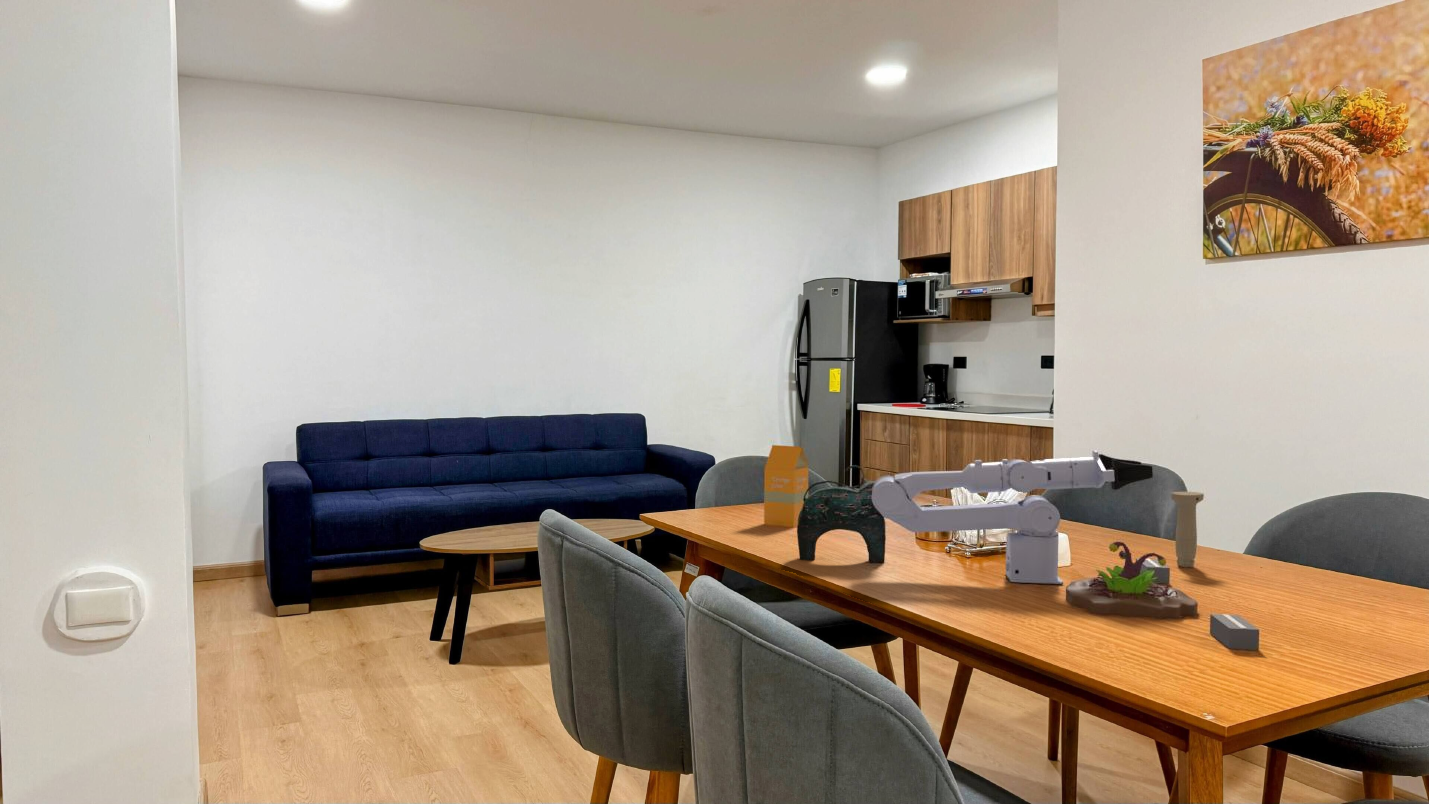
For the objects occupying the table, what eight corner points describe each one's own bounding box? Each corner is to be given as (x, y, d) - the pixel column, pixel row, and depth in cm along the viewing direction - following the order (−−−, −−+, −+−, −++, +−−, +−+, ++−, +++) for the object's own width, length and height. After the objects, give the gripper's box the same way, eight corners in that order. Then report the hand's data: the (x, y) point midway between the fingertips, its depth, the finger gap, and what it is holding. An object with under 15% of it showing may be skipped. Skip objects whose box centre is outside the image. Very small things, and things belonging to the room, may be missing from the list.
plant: (1050, 591, 175) (1051, 530, 174) (1158, 592, 174) (1160, 531, 174) (1089, 620, 155) (1090, 552, 154) (1211, 622, 154) (1213, 553, 154)
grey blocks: (1229, 648, 139) (1229, 627, 138) (1135, 573, 188) (1135, 557, 188) (1258, 650, 138) (1259, 629, 138) (1156, 574, 187) (1157, 558, 187)
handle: (1206, 567, 194) (1208, 494, 193) (1184, 570, 191) (1185, 495, 191) (1186, 562, 198) (1188, 491, 198) (1164, 565, 196) (1165, 492, 195)
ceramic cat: (892, 559, 201) (893, 464, 200) (892, 565, 194) (894, 468, 193) (798, 555, 204) (799, 462, 203) (795, 561, 198) (796, 465, 197)
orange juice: (794, 527, 238) (794, 448, 238) (763, 524, 243) (764, 446, 242) (808, 523, 245) (809, 445, 244) (778, 520, 250) (779, 444, 249)
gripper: (1076, 455, 173) (1156, 451, 171) (1061, 448, 187) (1134, 444, 185) (1078, 494, 173) (1158, 490, 171) (1063, 484, 188) (1137, 481, 185)
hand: (1146, 469), depth 178 cm, fingers open, 7 cm apart
